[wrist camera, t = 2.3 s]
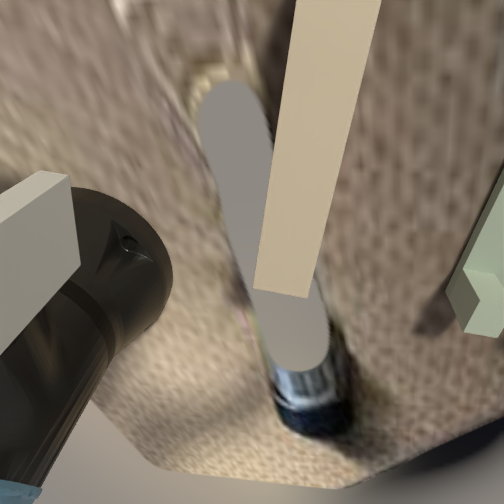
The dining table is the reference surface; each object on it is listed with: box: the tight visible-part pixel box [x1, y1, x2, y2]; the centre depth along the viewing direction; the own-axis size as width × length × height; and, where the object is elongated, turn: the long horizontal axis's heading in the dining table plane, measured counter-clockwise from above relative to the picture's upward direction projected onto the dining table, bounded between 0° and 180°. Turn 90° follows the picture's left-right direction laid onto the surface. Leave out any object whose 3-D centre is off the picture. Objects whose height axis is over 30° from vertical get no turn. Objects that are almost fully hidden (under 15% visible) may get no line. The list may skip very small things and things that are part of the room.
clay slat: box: [253, 0, 381, 298], centre depth 24 cm, size 20×4×9 cm, turn 173°
